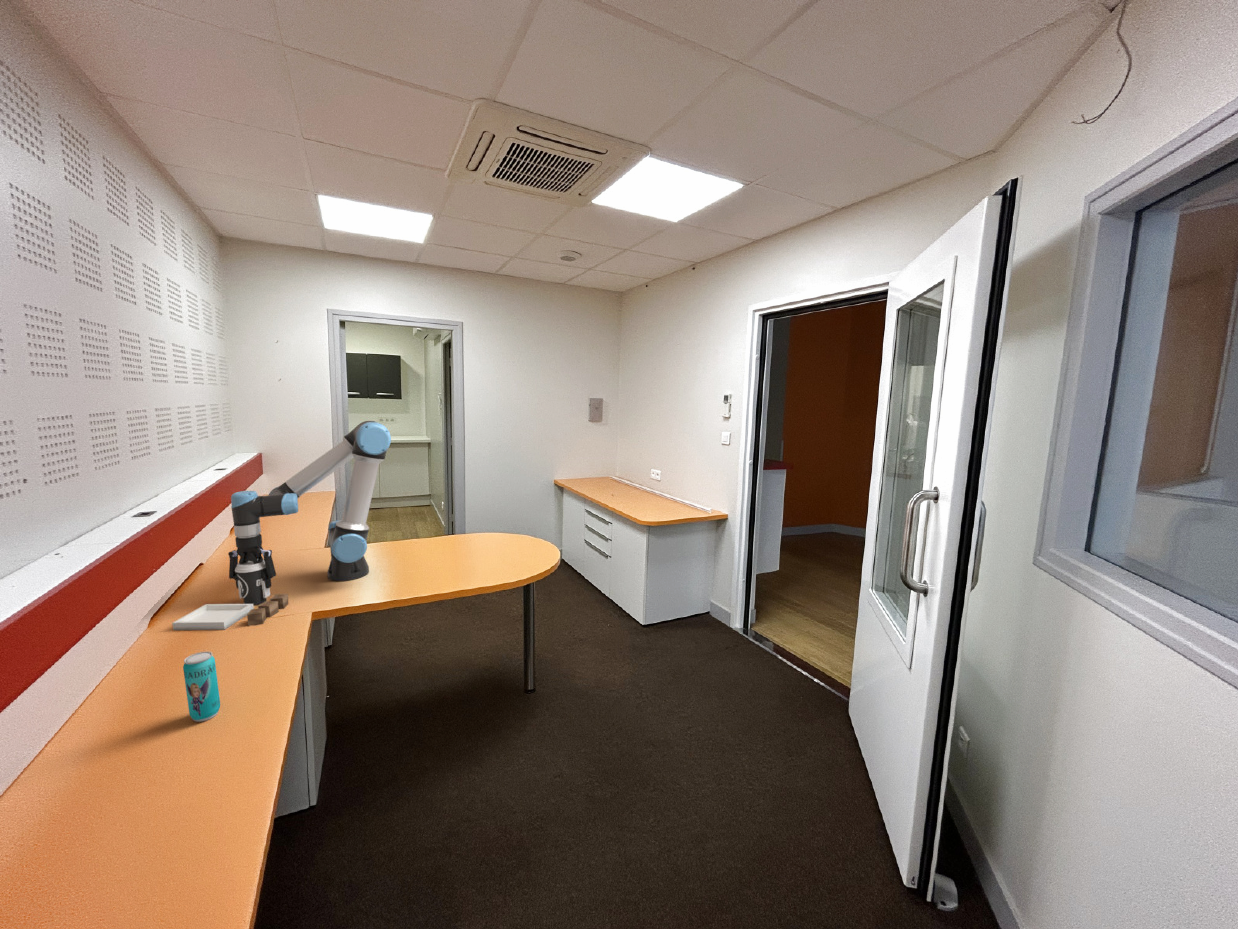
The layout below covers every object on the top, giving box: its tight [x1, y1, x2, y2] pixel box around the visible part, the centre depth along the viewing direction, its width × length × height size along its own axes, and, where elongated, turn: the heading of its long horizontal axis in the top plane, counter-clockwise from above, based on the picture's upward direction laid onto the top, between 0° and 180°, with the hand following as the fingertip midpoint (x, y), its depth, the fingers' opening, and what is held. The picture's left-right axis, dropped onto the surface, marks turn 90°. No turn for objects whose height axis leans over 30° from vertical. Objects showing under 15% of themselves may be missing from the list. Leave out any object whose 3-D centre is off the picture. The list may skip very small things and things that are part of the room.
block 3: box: [269, 593, 290, 610], centre depth 181 cm, size 4×4×4 cm
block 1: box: [246, 608, 267, 627], centre depth 170 cm, size 4×4×4 cm
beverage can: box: [182, 651, 221, 723], centre depth 121 cm, size 6×6×15 cm
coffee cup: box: [235, 558, 268, 606], centre depth 184 cm, size 10×10×15 cm
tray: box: [171, 603, 255, 631], centre depth 171 cm, size 16×14×2 cm
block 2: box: [257, 600, 280, 618], centre depth 176 cm, size 4×4×4 cm
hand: (255, 596), depth 185 cm, fingers closed on coffee cup, 8 cm apart
